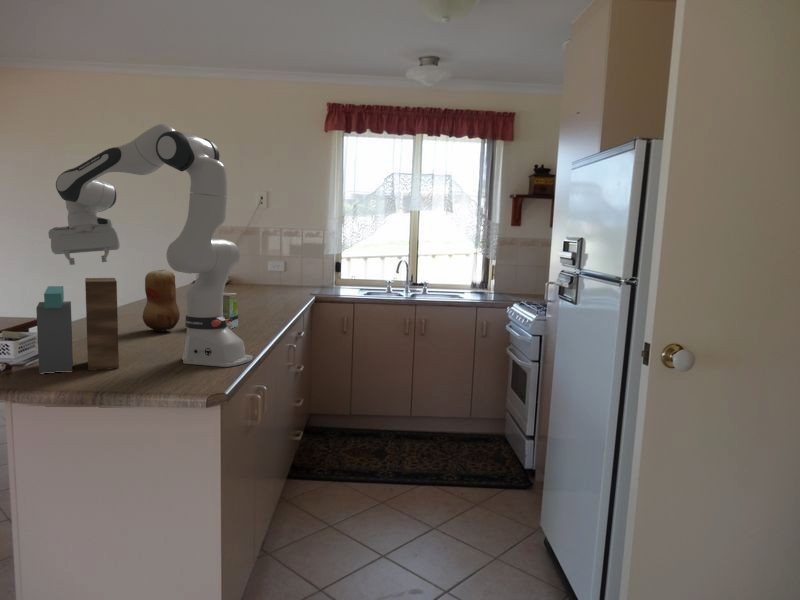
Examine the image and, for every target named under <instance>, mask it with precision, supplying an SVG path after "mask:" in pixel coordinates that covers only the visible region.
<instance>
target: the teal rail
mask: <svg viewBox="0 0 800 600" xmlns="http://www.w3.org/2000/svg"><path fill="white" fill-rule="evenodd" d="M44 291H45V292H44V294H43V298H44V301H43V302H44V305H45V308H62V304H63V301H65V297H64V296H65V294H64V293H65V290H64V286H63V285H57V286H56V285H50V286H47V287H46V289H45V290H44Z"/></svg>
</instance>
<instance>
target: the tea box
mask: <svg viewBox="0 0 800 600" xmlns="http://www.w3.org/2000/svg"><path fill="white" fill-rule="evenodd" d="M223 315H224V317H225V319H229V318H230V319H229V320H228V321H230V322H227V323H229V324H232V326H231V330H232V328H233V329H235V328H237V327H238V326H239V293H238V292H223ZM234 327H235V328H234Z"/></svg>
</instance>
